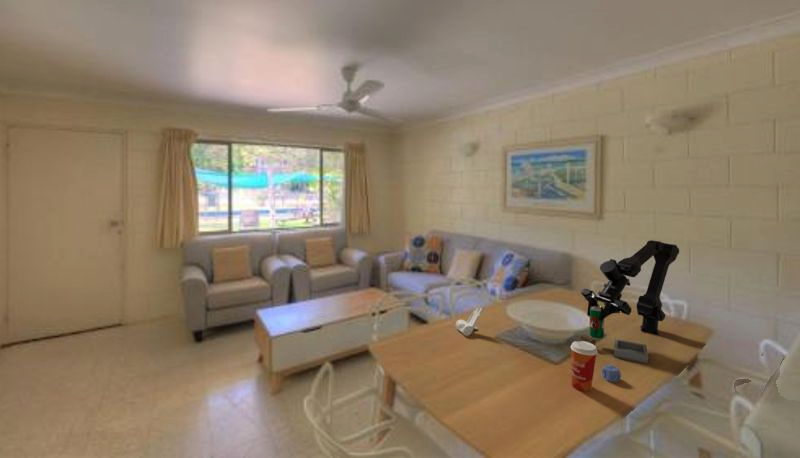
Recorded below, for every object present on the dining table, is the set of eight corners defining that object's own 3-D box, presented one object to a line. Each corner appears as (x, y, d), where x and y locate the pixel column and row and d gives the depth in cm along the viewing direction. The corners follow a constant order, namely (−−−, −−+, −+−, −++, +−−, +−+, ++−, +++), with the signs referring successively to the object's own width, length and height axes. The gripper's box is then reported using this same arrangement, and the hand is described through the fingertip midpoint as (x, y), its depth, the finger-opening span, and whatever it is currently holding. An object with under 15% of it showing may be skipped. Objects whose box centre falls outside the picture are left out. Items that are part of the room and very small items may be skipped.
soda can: (605, 339, 138) (606, 308, 138) (591, 338, 140) (591, 308, 139) (601, 335, 143) (602, 305, 143) (588, 334, 145) (588, 305, 144)
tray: (614, 345, 142) (614, 338, 142) (645, 352, 137) (646, 344, 137) (613, 356, 134) (614, 349, 133) (647, 364, 128) (648, 356, 128)
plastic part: (455, 329, 159) (455, 304, 158) (475, 326, 162) (475, 301, 160) (463, 336, 152) (463, 310, 150) (483, 333, 155) (484, 307, 153)
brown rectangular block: (583, 343, 144) (584, 334, 144) (594, 349, 140) (595, 339, 139) (580, 344, 143) (580, 335, 143) (591, 350, 139) (591, 340, 138)
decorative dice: (601, 376, 121) (602, 365, 120) (612, 375, 121) (613, 364, 120) (608, 382, 117) (609, 371, 116) (620, 382, 117) (621, 370, 116)
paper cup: (563, 380, 118) (565, 340, 116) (585, 379, 119) (588, 339, 117) (576, 394, 110) (579, 351, 108) (600, 393, 111) (603, 350, 109)
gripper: (646, 306, 138) (625, 338, 135) (602, 292, 155) (582, 320, 152) (634, 289, 134) (612, 322, 131) (590, 276, 151) (570, 305, 148)
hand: (593, 317), depth 141 cm, fingers closed on soda can, 5 cm apart
